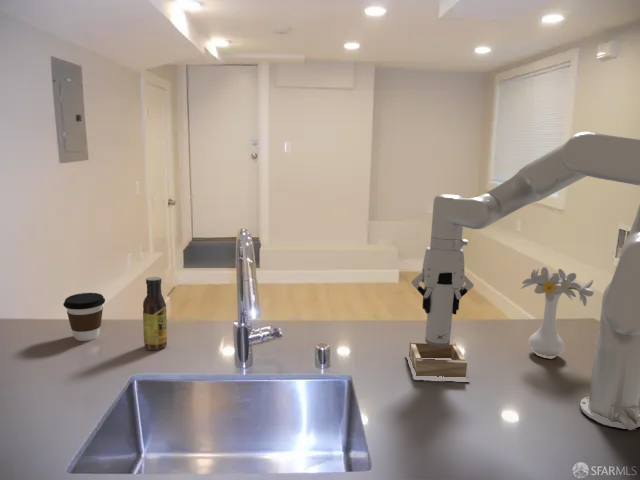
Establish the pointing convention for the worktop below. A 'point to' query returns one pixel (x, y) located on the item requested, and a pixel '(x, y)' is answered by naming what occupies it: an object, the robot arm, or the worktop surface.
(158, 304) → the sauce bottle
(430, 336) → the travel mug
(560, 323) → the worktop surface
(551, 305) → the flower vase
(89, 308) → the coffee cup
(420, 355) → the wooden square tray
